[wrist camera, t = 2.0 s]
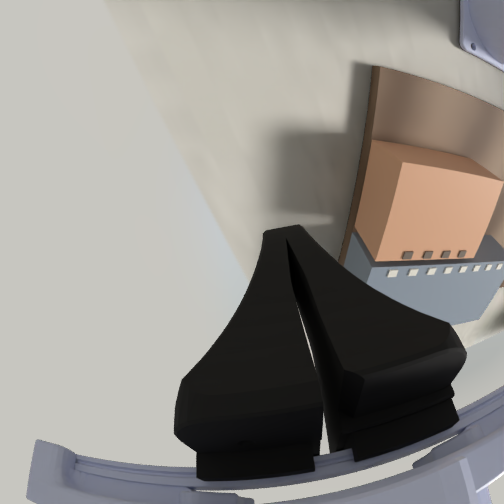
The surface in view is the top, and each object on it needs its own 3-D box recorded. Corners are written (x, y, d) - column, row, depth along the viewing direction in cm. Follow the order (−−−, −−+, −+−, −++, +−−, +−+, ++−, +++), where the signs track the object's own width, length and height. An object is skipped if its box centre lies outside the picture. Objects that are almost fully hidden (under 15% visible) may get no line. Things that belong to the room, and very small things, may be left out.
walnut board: (574, 154, 14) (579, 158, 14) (524, 277, 25) (528, 282, 24) (372, 65, 13) (380, 66, 12) (329, 296, 23) (332, 305, 22)
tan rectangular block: (470, 158, 15) (505, 182, 12) (448, 228, 18) (474, 259, 15) (371, 139, 14) (403, 163, 12) (354, 226, 18) (375, 262, 15)
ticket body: (491, 235, 19) (514, 261, 16) (462, 293, 23) (479, 320, 20) (352, 232, 18) (372, 268, 15) (332, 305, 22) (344, 343, 19)
